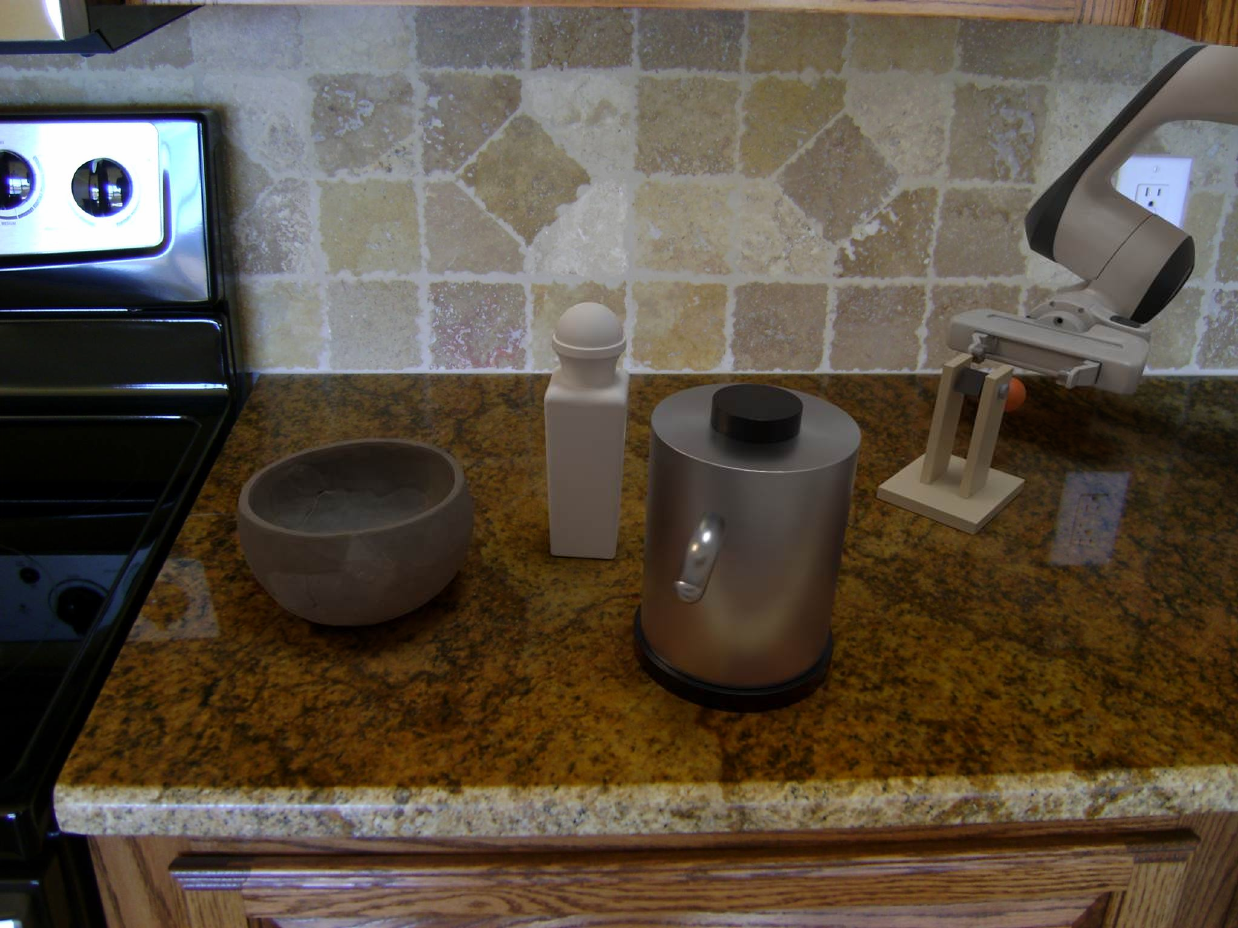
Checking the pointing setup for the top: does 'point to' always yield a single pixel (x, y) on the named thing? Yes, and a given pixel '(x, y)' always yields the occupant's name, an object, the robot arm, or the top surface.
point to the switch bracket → (958, 459)
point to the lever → (974, 383)
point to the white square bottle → (586, 432)
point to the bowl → (356, 528)
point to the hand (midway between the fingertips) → (1017, 367)
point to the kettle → (743, 543)
